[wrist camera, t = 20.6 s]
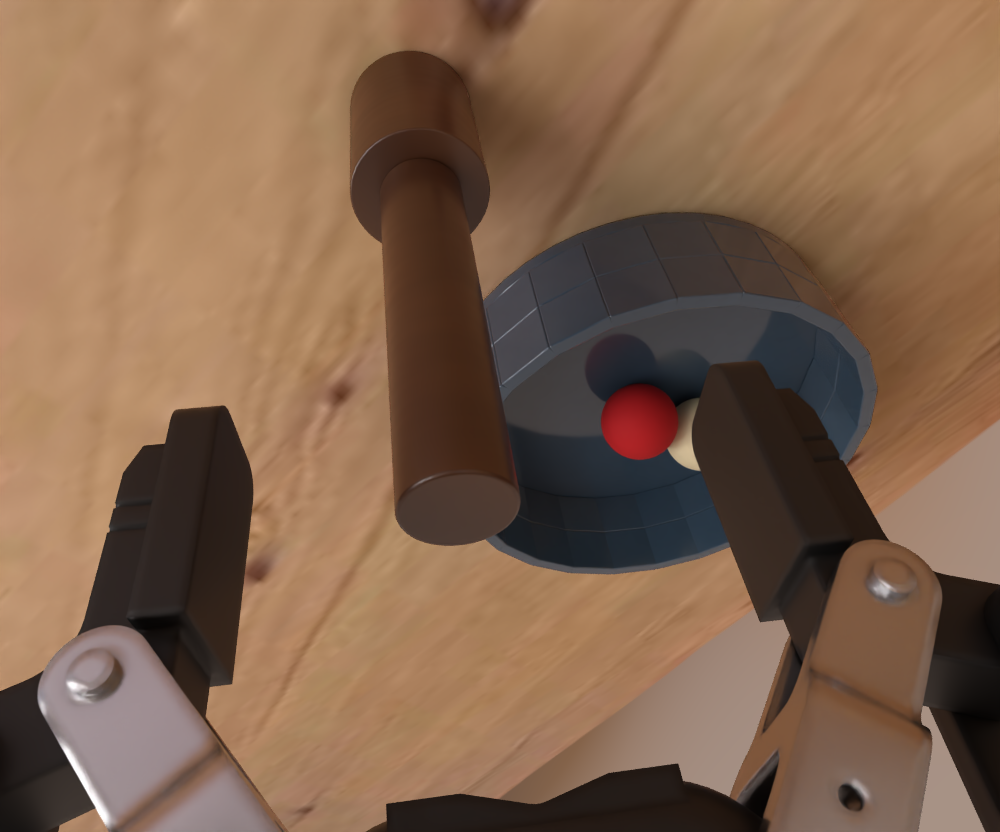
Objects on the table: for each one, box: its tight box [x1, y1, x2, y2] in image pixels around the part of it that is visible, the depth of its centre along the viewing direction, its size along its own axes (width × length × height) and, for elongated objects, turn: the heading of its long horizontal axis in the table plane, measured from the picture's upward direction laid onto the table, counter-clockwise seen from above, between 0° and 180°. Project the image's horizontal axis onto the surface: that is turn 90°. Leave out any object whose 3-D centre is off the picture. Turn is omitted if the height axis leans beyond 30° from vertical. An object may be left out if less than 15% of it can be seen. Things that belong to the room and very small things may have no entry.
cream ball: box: [667, 398, 700, 471], centre depth 30 cm, size 3×3×3 cm
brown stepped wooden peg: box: [350, 51, 521, 546], centre depth 16 cm, size 3×3×14 cm
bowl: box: [483, 213, 877, 574], centre depth 29 cm, size 15×15×4 cm
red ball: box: [601, 383, 678, 460], centre depth 29 cm, size 3×3×3 cm
